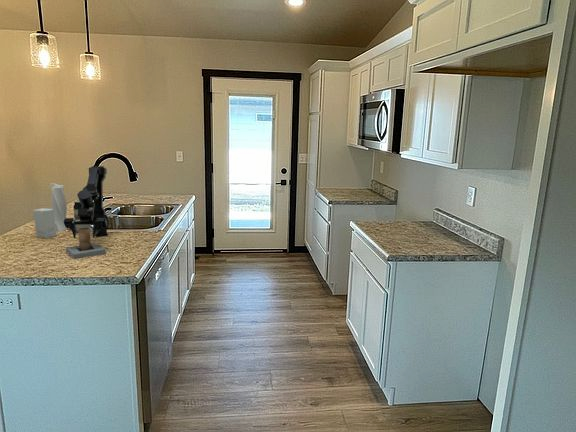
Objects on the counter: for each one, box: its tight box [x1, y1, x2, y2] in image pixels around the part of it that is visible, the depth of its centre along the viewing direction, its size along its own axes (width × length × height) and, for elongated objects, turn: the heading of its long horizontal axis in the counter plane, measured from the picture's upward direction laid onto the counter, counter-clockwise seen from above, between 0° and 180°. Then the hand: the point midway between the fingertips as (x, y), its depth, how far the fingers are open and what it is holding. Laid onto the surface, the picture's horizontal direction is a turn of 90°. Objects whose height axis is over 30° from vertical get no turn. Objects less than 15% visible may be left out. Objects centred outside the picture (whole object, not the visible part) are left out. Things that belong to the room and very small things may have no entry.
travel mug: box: [72, 199, 91, 232], centre depth 239 cm, size 8×8×18 cm
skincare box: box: [32, 207, 58, 239], centre depth 223 cm, size 8×7×16 cm
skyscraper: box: [49, 183, 69, 232], centre depth 238 cm, size 8×8×28 cm
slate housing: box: [65, 242, 106, 260], centre depth 198 cm, size 14×14×2 cm
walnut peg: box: [77, 227, 92, 251], centre depth 198 cm, size 5×5×12 cm
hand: (83, 237), depth 196 cm, fingers open, 8 cm apart
